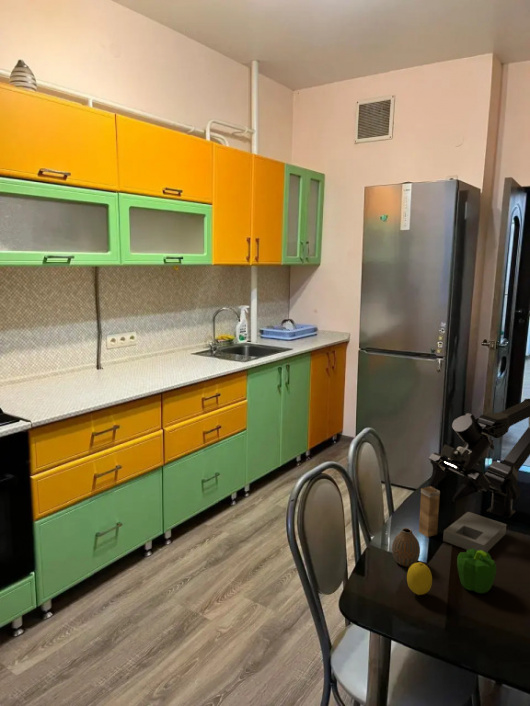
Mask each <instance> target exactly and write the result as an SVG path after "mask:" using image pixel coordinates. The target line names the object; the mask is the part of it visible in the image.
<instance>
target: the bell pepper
mask: <svg viewBox="0 0 530 706" xmlns="http://www.w3.org/2000/svg"><path fill="white" fill-rule="evenodd" d="M456 561H457V562H456V565H457V572H458V577H459V581H460V584H461V586H462V587H463V588H464V589H466V590H468V591H474V592H475V593H478V594H485V593H488V592H489V591H490V590H491V589H492V586H493V584H494V581H495V579H496V576H497V565H496V562H495V560H494V559H492V556H491V555H490V553H489V551H488V552H484V551H482V550H479V551H478V550H475V549H473V548H472V549H469V550H466V552H463V551H461V552H459V554H458V555H457V559H456Z"/></svg>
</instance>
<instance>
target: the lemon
mask: <svg viewBox="0 0 530 706" xmlns="http://www.w3.org/2000/svg"><path fill="white" fill-rule="evenodd" d="M406 581H407V586H408V588H409V589H410V591H412V593H414V594H416V595H417V596H420V595H425V594H427V593H428V592H429V591H430V590H431V587H432V584H433V576H432V571H431V569H430V568H429V567H428V566H427V565H426V563H424V562H421V561H419V562H418V561H417V562H416V563H414V564H412V565H411V566H409V567H408V570H407V574H406Z"/></svg>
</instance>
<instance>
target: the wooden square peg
mask: <svg viewBox="0 0 530 706" xmlns="http://www.w3.org/2000/svg"><path fill="white" fill-rule="evenodd" d="M440 495H441V491H440V490H438V489H437V488H435V487H431V486H430V487H429V486H426V487H423V488H420V505H419V520H418V532H419V533H420V534H421V535H424V536H425V537H426V538H430V537H433V536H437V535H438V523H439V509H440V508H439V507H440Z"/></svg>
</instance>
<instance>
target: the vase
mask: <svg viewBox="0 0 530 706" xmlns="http://www.w3.org/2000/svg"><path fill="white" fill-rule="evenodd" d="M391 553H392V557H393V559H394V561H396V563H397V564H398V565H400V566H402V567H407V568H409V567H410V566H411V565H412V564H414V563H417V562H418V561H419V559H420V556H421V546H420V543H419V540H418V539H417V537H416V536H415V535H414V533H413V531H412V529H410V528H407V527H405V528H402V529H401V531H400V532H399V533H398V534H397V535H396V536H395V537H394V539H393V542H392V544H391Z"/></svg>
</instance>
